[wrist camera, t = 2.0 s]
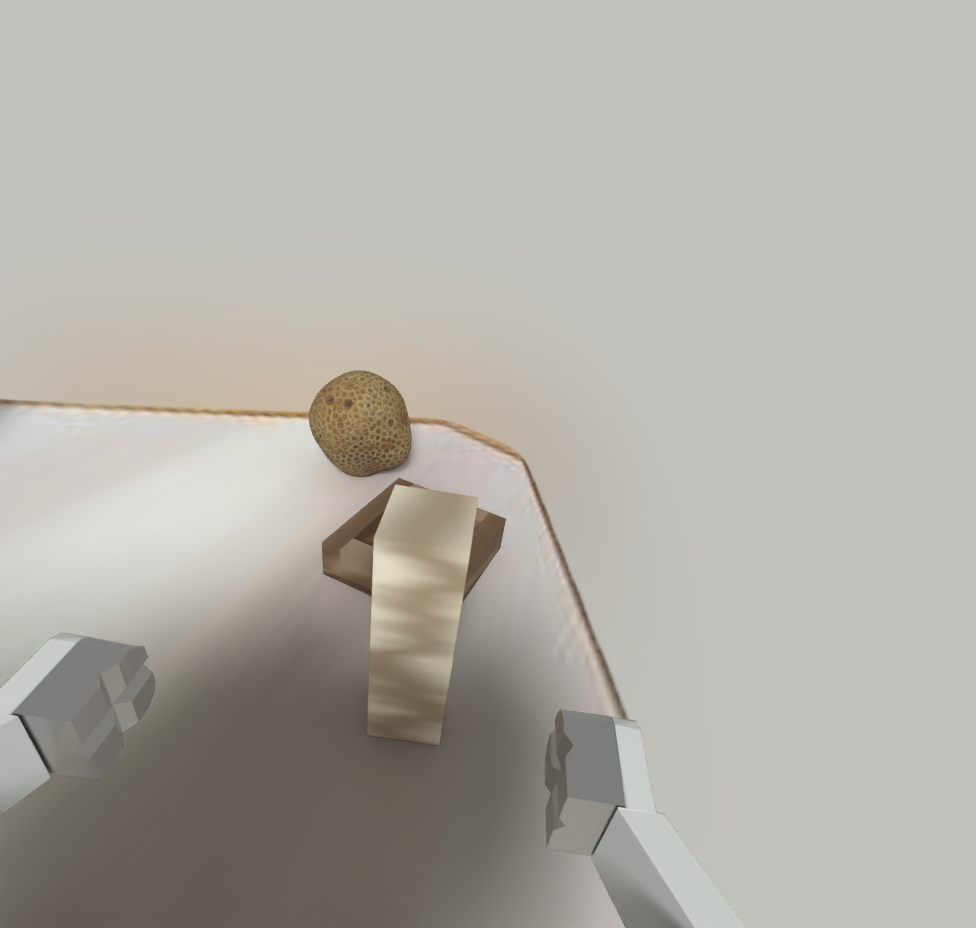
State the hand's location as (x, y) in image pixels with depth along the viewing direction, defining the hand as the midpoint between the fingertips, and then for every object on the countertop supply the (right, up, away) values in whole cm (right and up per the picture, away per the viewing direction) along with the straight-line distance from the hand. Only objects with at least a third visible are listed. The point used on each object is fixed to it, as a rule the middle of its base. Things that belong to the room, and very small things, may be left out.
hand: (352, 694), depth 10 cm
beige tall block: (-2, -10, +20) cm, 22 cm away
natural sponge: (-10, +4, +40) cm, 42 cm away
